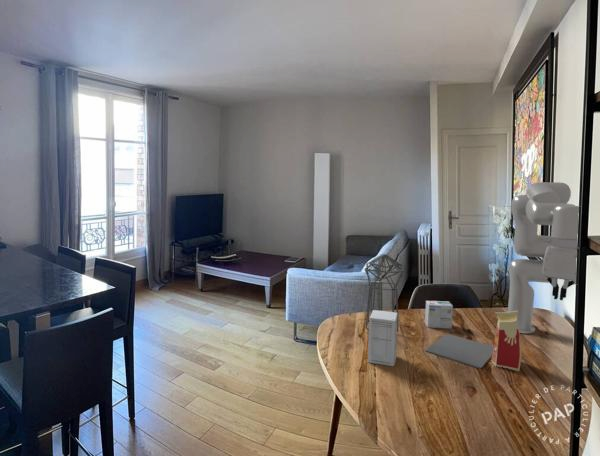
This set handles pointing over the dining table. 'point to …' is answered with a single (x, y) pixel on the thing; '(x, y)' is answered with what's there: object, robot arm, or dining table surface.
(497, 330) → the milk carton
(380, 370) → the dining table surface
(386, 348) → the supplement box
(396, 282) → the geometric lantern
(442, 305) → the light bulb box
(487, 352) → the mat
